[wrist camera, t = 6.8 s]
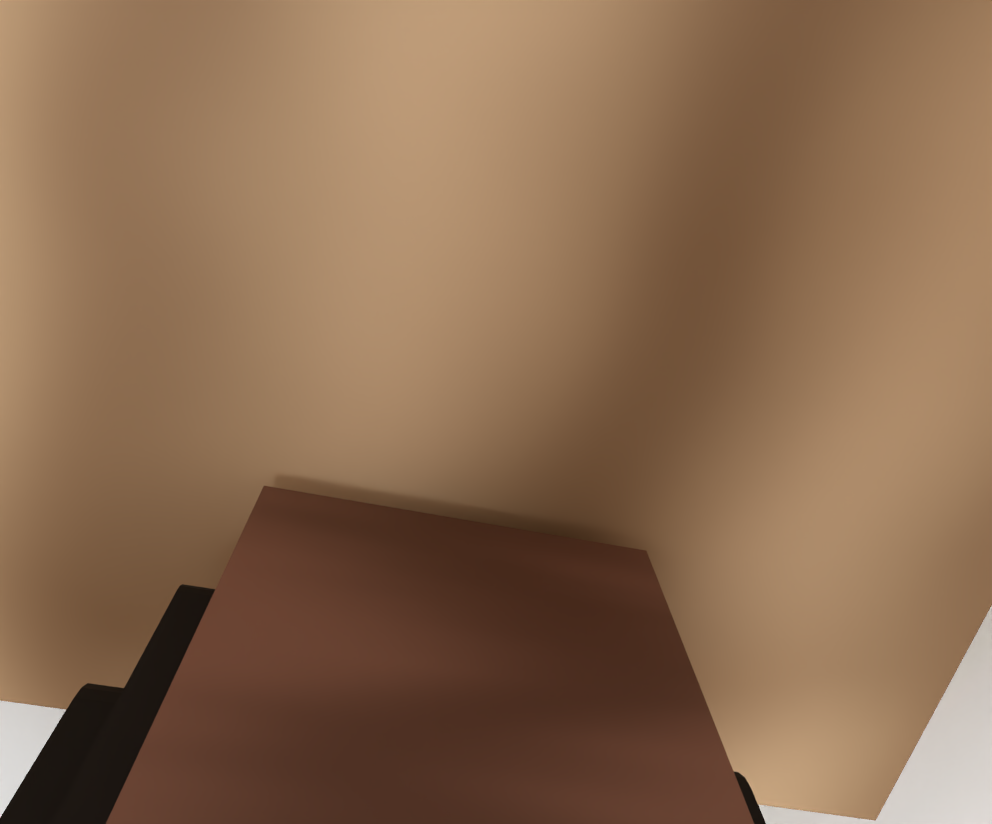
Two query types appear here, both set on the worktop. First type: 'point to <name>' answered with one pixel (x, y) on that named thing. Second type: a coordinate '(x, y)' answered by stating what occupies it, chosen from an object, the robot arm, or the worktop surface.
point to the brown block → (430, 683)
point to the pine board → (516, 323)
